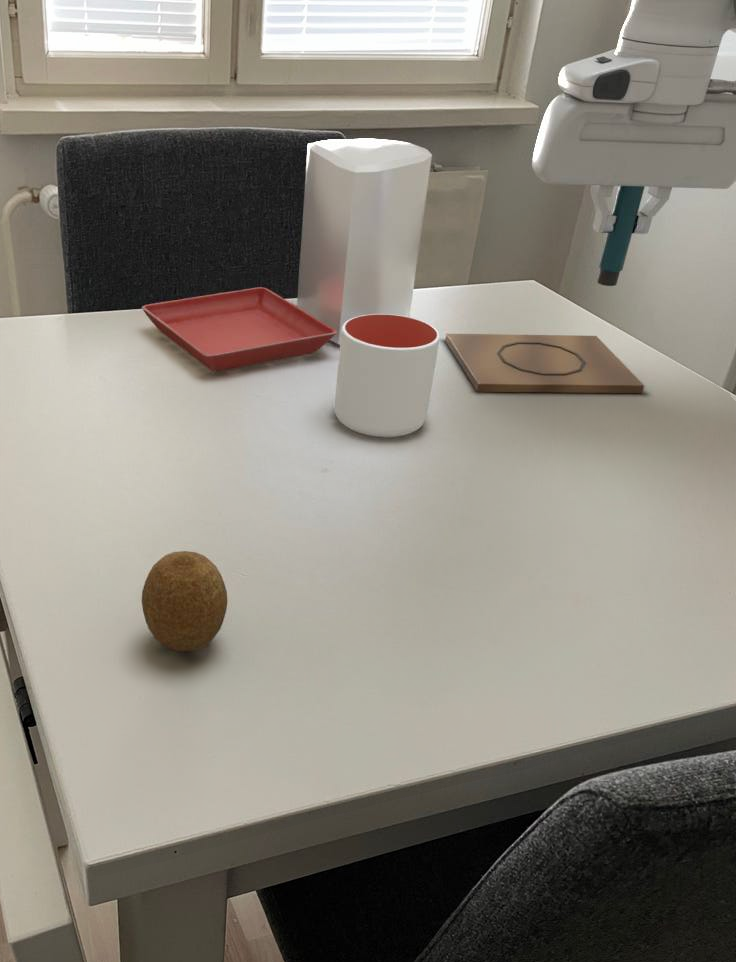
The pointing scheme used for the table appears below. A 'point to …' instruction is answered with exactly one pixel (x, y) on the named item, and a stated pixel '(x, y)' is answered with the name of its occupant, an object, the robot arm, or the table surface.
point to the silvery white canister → (361, 228)
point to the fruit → (184, 601)
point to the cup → (385, 374)
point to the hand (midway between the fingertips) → (619, 232)
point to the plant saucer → (239, 328)
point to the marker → (619, 234)
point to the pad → (541, 364)
